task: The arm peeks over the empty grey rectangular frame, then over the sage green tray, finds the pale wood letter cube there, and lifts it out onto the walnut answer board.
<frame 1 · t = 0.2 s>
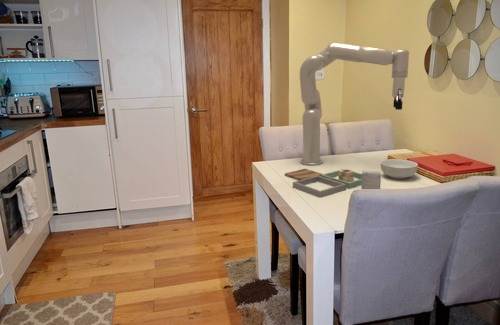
hand: (397, 108, 195), 31 cm above the table, tool pointing down, fingers open, 9 cm apart
green tray: (346, 180, 180), on the table
medicine box: (370, 191, 165), on the table
grey rectangular frame: (318, 188, 171), on the table
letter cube: (346, 175, 180), in the green tray
cereal bowl: (398, 177, 183), on the table
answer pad: (304, 176, 190), on the table
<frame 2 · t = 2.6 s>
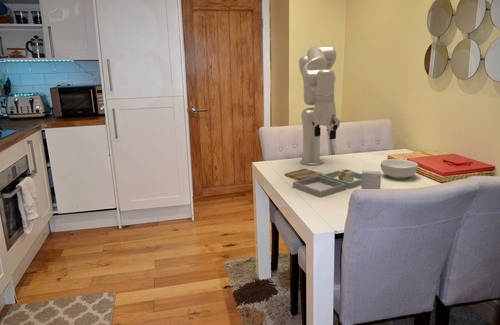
hand: (324, 137, 166), 23 cm above the table, tool pointing down, fingers open, 9 cm apart
nothing on the table moved.
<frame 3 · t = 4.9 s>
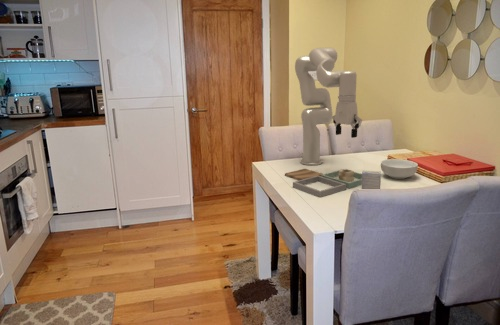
hand: (346, 135, 174), 22 cm above the table, tool pointing down, fingers open, 9 cm apart
nothing on the table moved.
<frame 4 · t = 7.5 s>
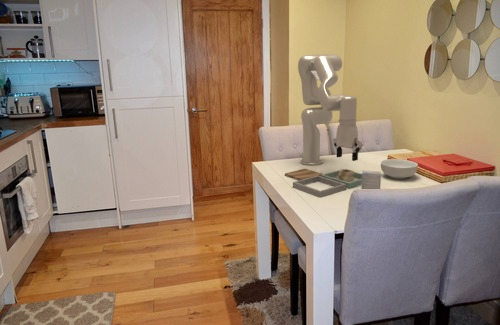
hand: (346, 158, 177), 11 cm above the table, tool pointing down, fingers open, 9 cm apart
nothing on the table moved.
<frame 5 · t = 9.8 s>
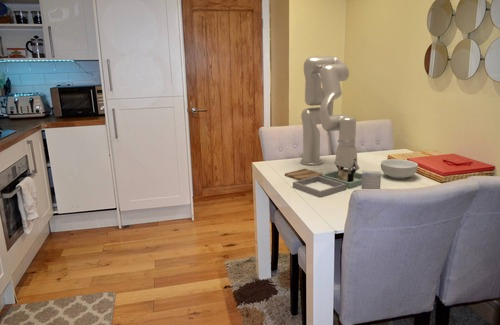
hand: (346, 179, 180), 0 cm above the table, tool pointing down, fingers closed on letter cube, 5 cm apart
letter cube: (346, 175, 180), in the green tray, touching gripper
everything else where it was.
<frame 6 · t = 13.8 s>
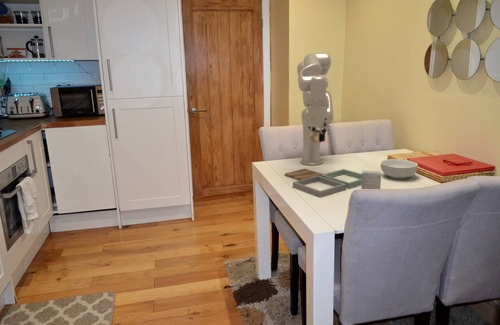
hand: (317, 140, 182), 19 cm above the table, tool pointing down, fingers closed on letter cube, 5 cm apart
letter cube: (317, 136, 182), point 21 cm above the table, touching gripper
everything else where it was.
when the fingers open (3 cm above the table, at t = 18.0 s): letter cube drops 1 cm, resting on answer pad.
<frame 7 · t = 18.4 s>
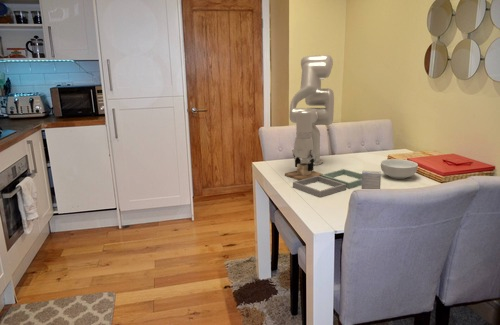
hand: (304, 168, 189), 4 cm above the table, tool pointing down, fingers open, 9 cm apart
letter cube: (304, 169, 189), on the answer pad, point 4 cm above the table
everything else where it was.
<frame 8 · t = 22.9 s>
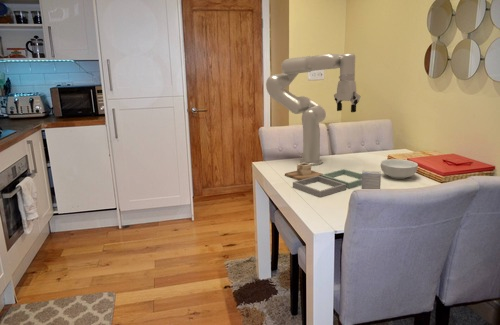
hand: (346, 111, 197), 30 cm above the table, tool pointing down, fingers open, 9 cm apart
nothing on the table moved.
at the end: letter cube inside the target area on the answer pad (0.0 cm from its centre), point 3.7 cm above the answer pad's base; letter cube tilted 0°; the gripper is holding nothing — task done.
